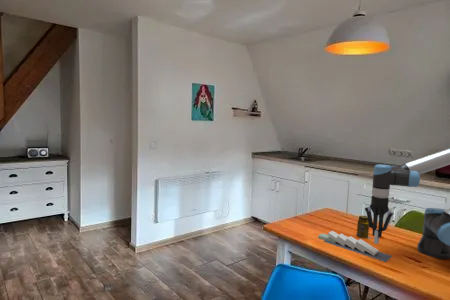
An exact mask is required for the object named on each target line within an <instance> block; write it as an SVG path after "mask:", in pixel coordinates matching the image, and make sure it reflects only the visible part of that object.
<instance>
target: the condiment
mask: <svg viewBox="0 0 450 300" xmlns="http://www.w3.org/2000/svg"><path fill="white" fill-rule="evenodd" d="M356 226H357V228H356V237H357V238H360V239H372V237H370V236H369V232H370V231H369V230H370V227H369V224H368V218H367V215H359V216H358V220H357V225H356Z"/></svg>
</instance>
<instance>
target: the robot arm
mask: <svg viewBox="0 0 450 300" xmlns="http://www.w3.org/2000/svg"><path fill="white" fill-rule="evenodd" d="M449 165H450V147H449V148H445V149H443V150H439V151H437V152H434V153H432V154H429V155H426V156H422V157H419V158H417V159H414V160H411V161H408V162H405V163H401V164H399V165H389V164H379V163H378V164H376V165H374V168H373V173H372V176H373V177H372V190H371V197H370V198H371V200H370V205H369V206H367V207H365V208H364V211H365V212H366V216H367V218H368V224H369V229H372V236H373V244H375V245H377V244H379V243H380V238H382V234H383V232H385V231H387V229H388V226H389V224H390V221H391V218H392V217H393V215H395V213H394V212H392V211H391V210H390V208H389V202H390V201H389V196H390V187H391V186H399V187H409V188H412V187H413V188H417V187H418V186H419V185H420V182H421V177H420V175H423V174H425V173H428V172H432V171H434V170H438V169H441V168H443V167H446V166H449ZM372 215H373V216H372ZM385 215H387V216H386V218H385V221H384V217H385ZM423 216H424V217H423V227H422V235H421V238H420V239H419V241H418V244H417V246H416V247H417V248H416V249H417V251H418V252H419V253H421V254H423V255H425V256H427V257H428V256H429V257H432V258H436V259H441V260H449V259H450V208H448V209H447V208H446V209H444V208H437V207H427V208H426V209H425V210H424V215H423Z"/></svg>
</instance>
